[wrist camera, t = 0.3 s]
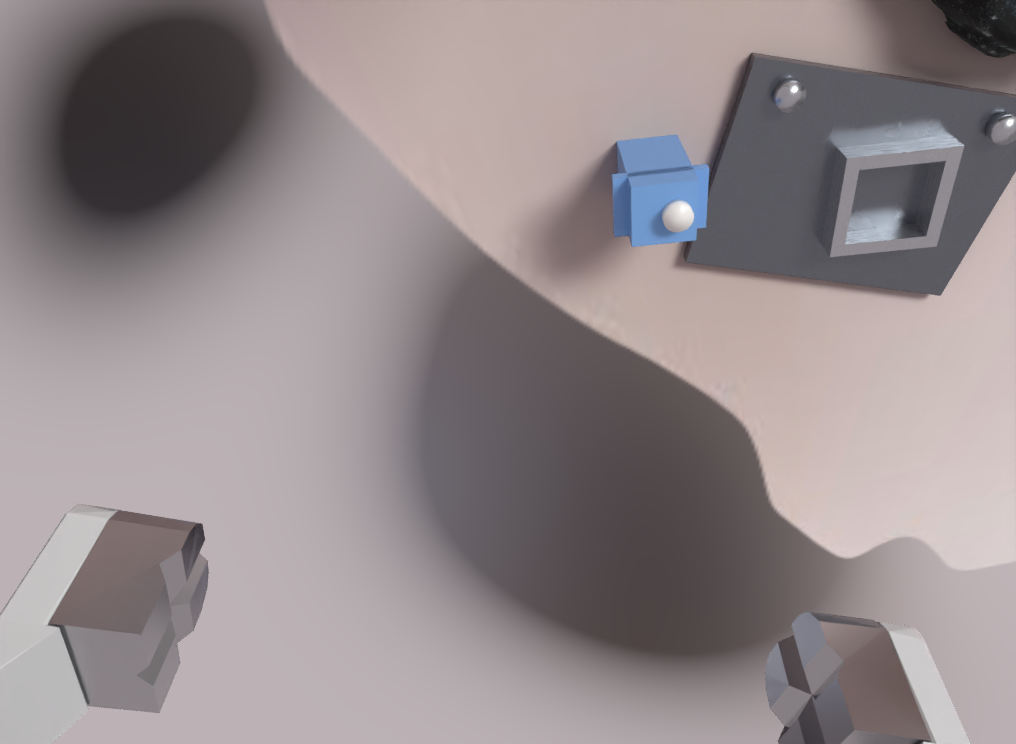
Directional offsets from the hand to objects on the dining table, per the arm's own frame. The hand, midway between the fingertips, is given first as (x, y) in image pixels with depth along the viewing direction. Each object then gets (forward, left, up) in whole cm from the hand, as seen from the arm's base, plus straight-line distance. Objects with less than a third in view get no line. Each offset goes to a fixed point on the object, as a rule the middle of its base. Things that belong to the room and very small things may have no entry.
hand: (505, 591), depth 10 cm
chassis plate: (+11, +28, -47) cm, 56 cm away
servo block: (+12, +12, -47) cm, 50 cm away
